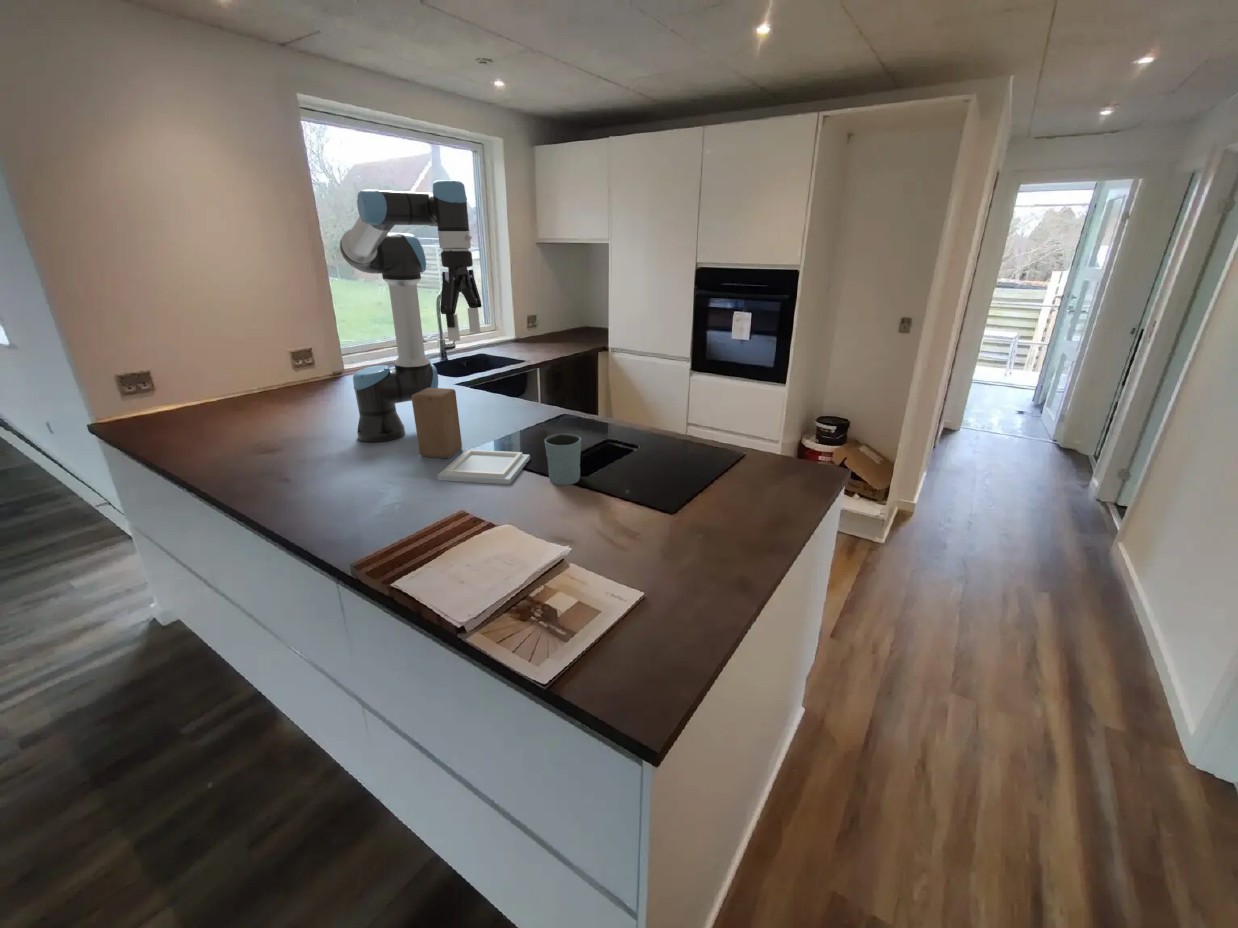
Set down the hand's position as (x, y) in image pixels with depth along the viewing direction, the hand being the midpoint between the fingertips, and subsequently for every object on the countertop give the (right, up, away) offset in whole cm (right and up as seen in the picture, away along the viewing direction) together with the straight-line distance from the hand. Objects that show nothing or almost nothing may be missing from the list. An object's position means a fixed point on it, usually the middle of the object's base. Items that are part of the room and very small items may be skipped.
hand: (465, 336), depth 144 cm
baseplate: (+2, -35, +16) cm, 39 cm away
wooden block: (-16, -30, +29) cm, 45 cm away
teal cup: (+25, -38, +10) cm, 47 cm away
